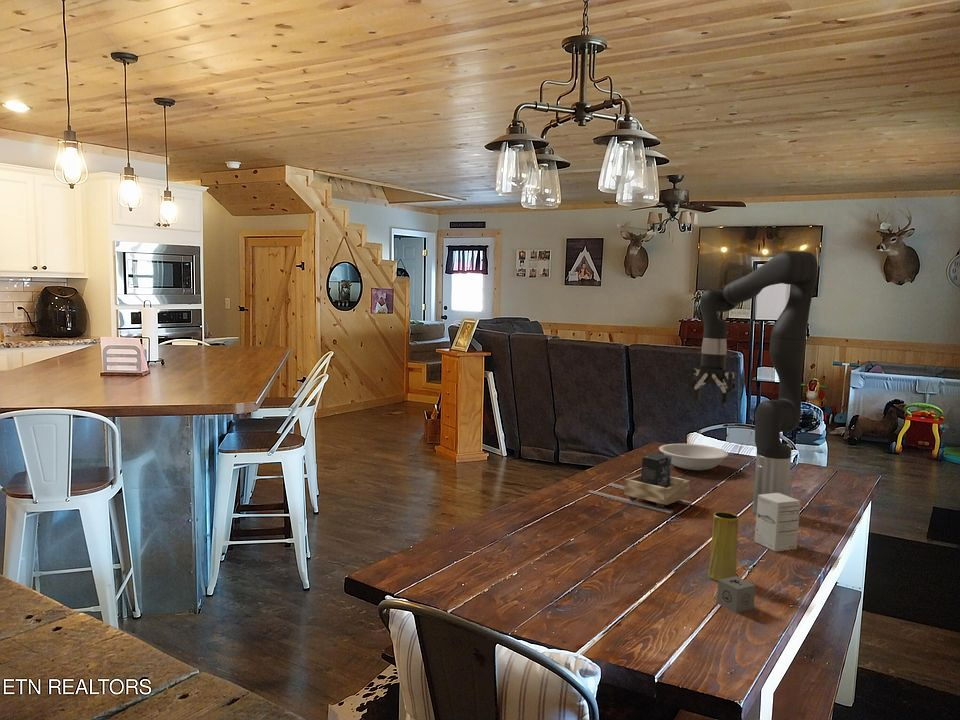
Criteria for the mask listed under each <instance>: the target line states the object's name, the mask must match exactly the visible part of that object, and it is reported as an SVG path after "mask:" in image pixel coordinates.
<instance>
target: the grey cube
mask: <svg viewBox="0 0 960 720" xmlns="http://www.w3.org/2000/svg"><path fill="white" fill-rule="evenodd" d="M755 596H756V584H754V583H752V582H750V581H748V580H746V579H743V578H741V577H739V576H737V575H736V576H734V577H730V578H725V579H720V580H718V581H717V595H716V604H718V605H720V606H722V607H724V608H725V609H727V610H729V611H731V612H733V613H734V614H738V613H742V612H746V611H750V610H753V609H755Z"/></svg>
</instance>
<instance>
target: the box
mask: <svg viewBox="0 0 960 720" xmlns="http://www.w3.org/2000/svg"><path fill="white" fill-rule="evenodd" d="M671 458H672V457H671V456H667V455H664V453H662V454H661V453H657V452H655V453H651V454H647V455H644V456H642V462H641V473H640V474H641V482H642V483H647V484H651V485H656V486H660V487H665V488H667V487H670V476H671V471H672V470H671V469H672V463H671Z"/></svg>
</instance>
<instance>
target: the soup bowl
mask: <svg viewBox="0 0 960 720" xmlns="http://www.w3.org/2000/svg"><path fill="white" fill-rule="evenodd" d="M658 449H659V452H661V453H662V454H663V455H667V456H671V457H672V458H671V465H673V466H675V467H677V468H681V469H685V470H691V471H692V470H693V471H706V470H707V471H708V470H711V469H713V468H715V467H717V466H718V465H720V464H721V463H722V461H723V460H724V459H727V458H728V457H729V453H728V452H727V451H726V450H724V449H722V448H721V449H720V448H717V447H714V446H708V445H704V444H703V445H702V444H694V443H669V444H663V445H660V446H659V447H658Z"/></svg>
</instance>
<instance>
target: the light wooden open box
mask: <svg viewBox="0 0 960 720" xmlns="http://www.w3.org/2000/svg"><path fill="white" fill-rule="evenodd" d="M690 485H691V481H690V480H689V479H685V478H679V477H675V476H671V475H670V487H667V488H665V487H660V486H656V485H651V484H647V483H642V482H641V473H639V474H638V475H634V476H631V477H629V478H625V479H624V486H625V487H624V490H623V495H625V496H627V497H628V498H629V500H631V501H636V500H637V499H641V500H644V501H645V500H646V501H650V502H653V503H656V506H658V507H659V508H665V506H666V505H667V506H669V505H670V504H672V503H676V502H675V501H677V500H680V499H681V500H684V498H686V497H688V496H690V488H691V487H690Z"/></svg>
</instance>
